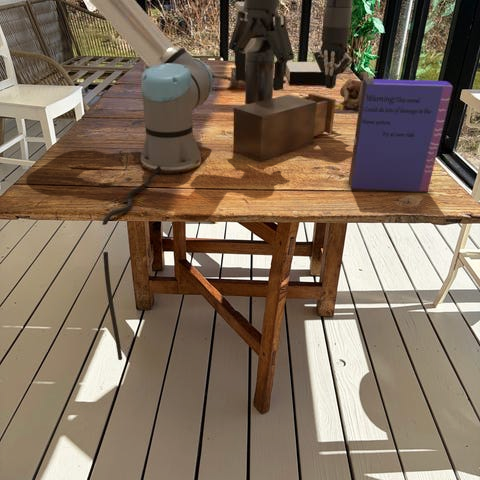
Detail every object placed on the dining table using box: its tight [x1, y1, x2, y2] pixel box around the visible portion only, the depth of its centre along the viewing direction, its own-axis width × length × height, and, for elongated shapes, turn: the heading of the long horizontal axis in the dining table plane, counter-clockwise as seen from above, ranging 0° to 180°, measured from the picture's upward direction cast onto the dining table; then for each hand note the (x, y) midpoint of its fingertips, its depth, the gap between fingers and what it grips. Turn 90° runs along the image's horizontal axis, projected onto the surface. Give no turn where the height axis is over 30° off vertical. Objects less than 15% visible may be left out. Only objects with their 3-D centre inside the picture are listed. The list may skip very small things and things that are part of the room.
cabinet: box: [232, 94, 317, 162], centre depth 131 cm, size 22×11×12 cm, turn 133°
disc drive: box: [285, 61, 326, 85], centre depth 207 cm, size 18×22×5 cm
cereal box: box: [348, 78, 454, 193], centre depth 106 cm, size 17×5×24 cm, turn 86°
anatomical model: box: [339, 71, 369, 110], centre depth 171 cm, size 13×9×15 cm
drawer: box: [301, 92, 344, 137], centre depth 139 cm, size 26×9×10 cm, turn 133°
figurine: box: [211, 66, 287, 89], centre depth 190 cm, size 24×8×30 cm
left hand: (258, 84), depth 121 cm, fingers open, 13 cm apart
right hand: (329, 88), depth 141 cm, fingers closed
